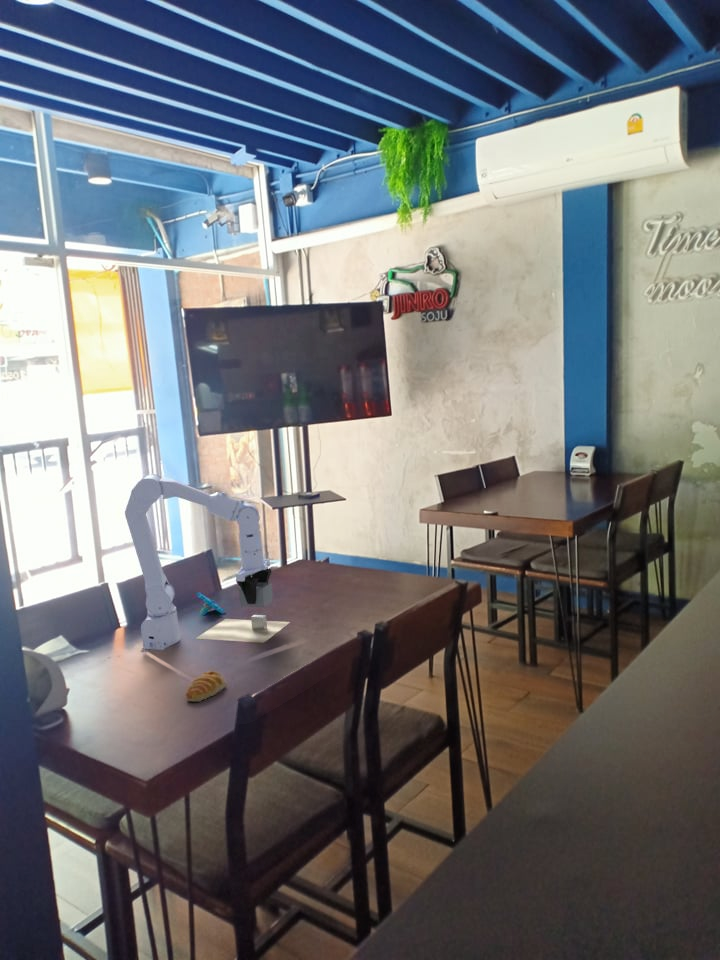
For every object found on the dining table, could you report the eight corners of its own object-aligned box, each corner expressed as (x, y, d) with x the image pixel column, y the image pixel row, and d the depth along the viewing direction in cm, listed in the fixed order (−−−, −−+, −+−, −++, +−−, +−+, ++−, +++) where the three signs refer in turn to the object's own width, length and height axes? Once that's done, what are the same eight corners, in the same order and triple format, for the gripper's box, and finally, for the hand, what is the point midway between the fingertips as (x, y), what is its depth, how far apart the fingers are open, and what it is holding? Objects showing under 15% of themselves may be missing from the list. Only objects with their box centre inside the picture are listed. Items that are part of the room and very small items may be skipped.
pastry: (206, 705, 153) (204, 688, 152) (178, 703, 155) (176, 686, 155) (228, 686, 162) (226, 670, 161) (202, 684, 164) (199, 668, 163)
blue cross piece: (229, 613, 207) (200, 592, 205) (216, 630, 206) (187, 610, 204) (224, 607, 218) (197, 587, 216) (212, 624, 217) (184, 604, 214)
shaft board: (264, 646, 184) (263, 642, 183) (195, 642, 191) (195, 638, 191) (290, 625, 197) (290, 622, 197) (226, 622, 205) (225, 618, 205)
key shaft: (264, 630, 193) (263, 617, 192) (252, 629, 194) (250, 616, 193) (267, 628, 194) (265, 615, 194) (255, 627, 195) (253, 614, 195)
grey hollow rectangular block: (264, 607, 189) (262, 588, 189) (240, 606, 192) (238, 587, 191) (273, 601, 194) (271, 582, 193) (250, 600, 197) (248, 582, 196)
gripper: (251, 557, 183) (256, 609, 185) (278, 543, 196) (282, 592, 198) (226, 556, 185) (232, 608, 187) (254, 542, 199) (259, 591, 201)
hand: (256, 600), depth 193 cm, fingers closed on grey hollow rectangular block, 5 cm apart
